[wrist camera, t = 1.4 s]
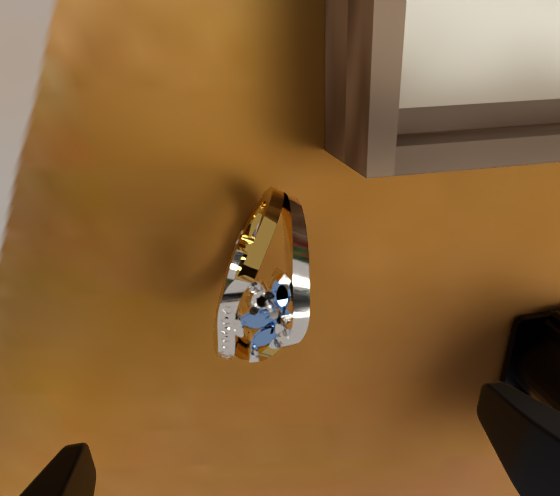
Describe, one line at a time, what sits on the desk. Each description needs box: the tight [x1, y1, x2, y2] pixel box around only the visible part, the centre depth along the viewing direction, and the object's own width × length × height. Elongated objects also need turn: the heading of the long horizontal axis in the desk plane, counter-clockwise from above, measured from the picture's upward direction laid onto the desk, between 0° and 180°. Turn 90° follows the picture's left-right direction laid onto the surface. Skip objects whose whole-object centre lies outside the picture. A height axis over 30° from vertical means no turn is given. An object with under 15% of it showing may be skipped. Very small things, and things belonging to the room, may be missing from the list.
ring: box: [213, 187, 310, 362], centre depth 17 cm, size 7×3×8 cm, turn 153°
